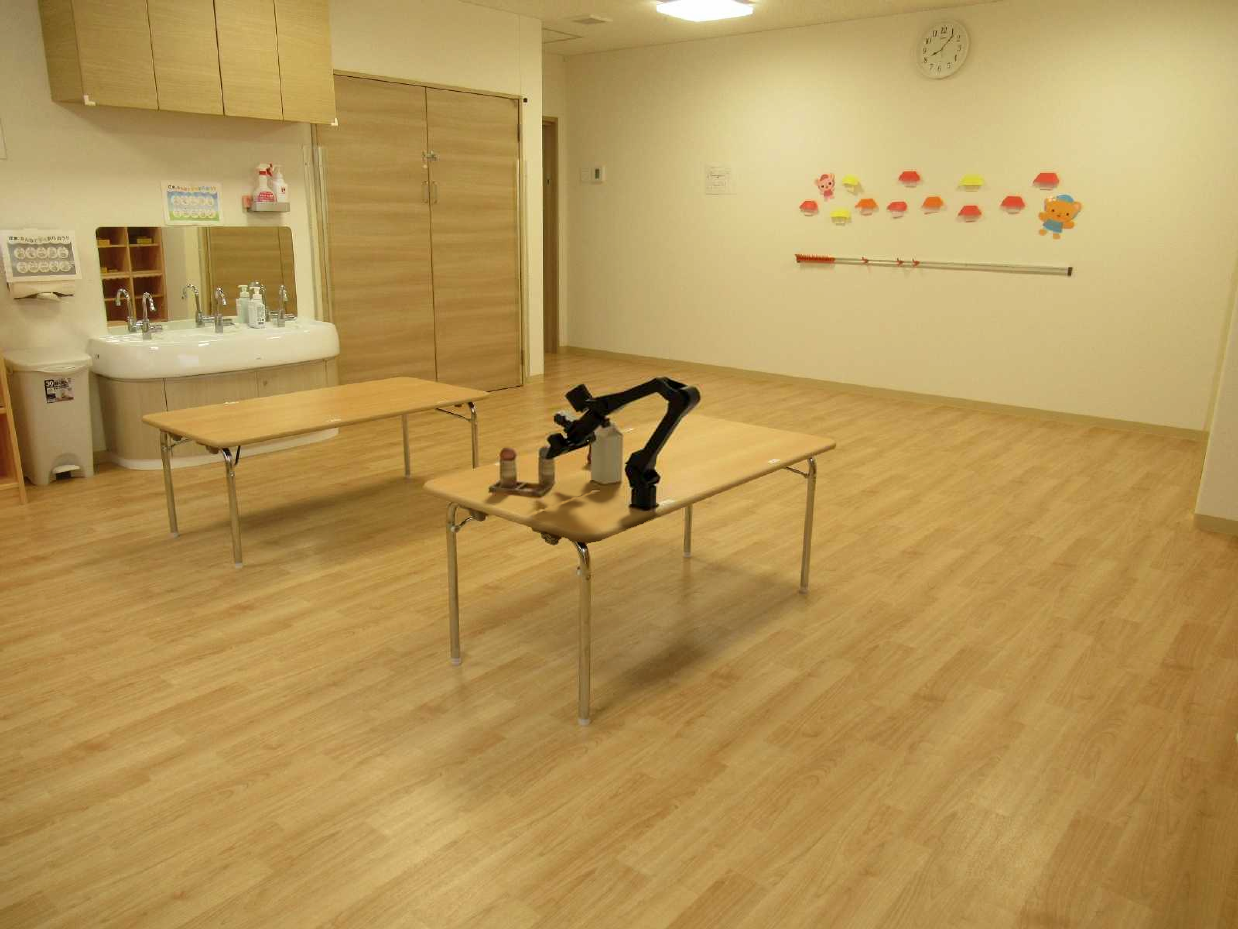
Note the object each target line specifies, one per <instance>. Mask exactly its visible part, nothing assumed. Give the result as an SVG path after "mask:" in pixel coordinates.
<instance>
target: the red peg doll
mask: <svg viewBox="0 0 1238 929" xmlns="http://www.w3.org/2000/svg"><path fill="white" fill-rule="evenodd" d="M517 460H518V459H517V451H516V450H515V449H514V448H513V447H511V446H506V447H503V448H502V449H501V450H500V452H499V480H500V488H509V489H516V488H517V481H518V478H517V475H518V470H517V469H518V467H517V463H518V462H517Z"/></svg>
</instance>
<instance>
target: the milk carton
mask: <svg viewBox="0 0 1238 929" xmlns="http://www.w3.org/2000/svg"><path fill="white" fill-rule="evenodd" d="M594 432H595V435H596V441H595V442H594V443H592V444H591V464H590V479H591V480H592V481H595V482H597V483H599V484H601V485H608V484H613V483H618V482H619V483H620V482H623V457H624V456H623V454H624V453H623V451H624V450H623V449H624V434H623V433H621V431H620V430H618V427H617V425H615V423H614V422H611V421H610V427H607V428H602V427H601V426H599V427H598V428H597V429H596V430H595V431H594Z"/></svg>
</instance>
